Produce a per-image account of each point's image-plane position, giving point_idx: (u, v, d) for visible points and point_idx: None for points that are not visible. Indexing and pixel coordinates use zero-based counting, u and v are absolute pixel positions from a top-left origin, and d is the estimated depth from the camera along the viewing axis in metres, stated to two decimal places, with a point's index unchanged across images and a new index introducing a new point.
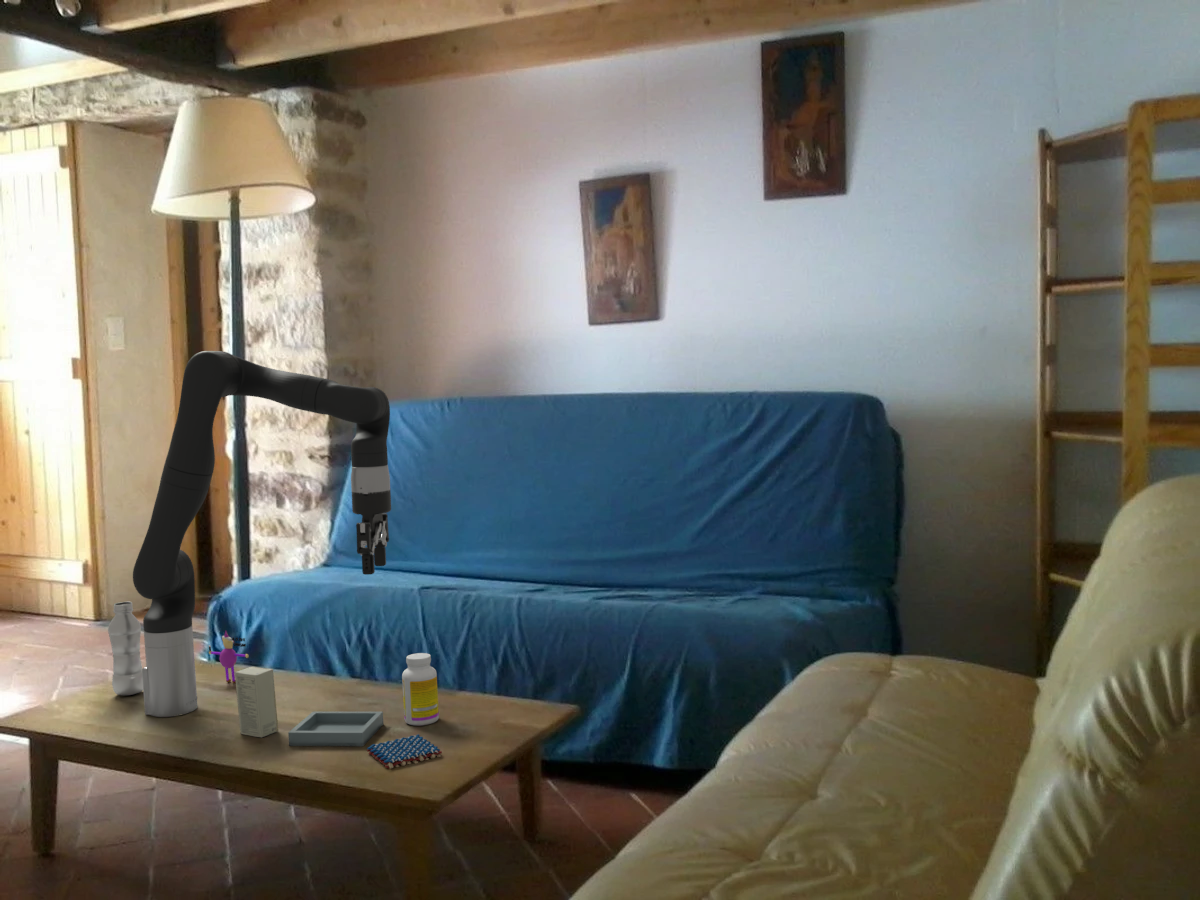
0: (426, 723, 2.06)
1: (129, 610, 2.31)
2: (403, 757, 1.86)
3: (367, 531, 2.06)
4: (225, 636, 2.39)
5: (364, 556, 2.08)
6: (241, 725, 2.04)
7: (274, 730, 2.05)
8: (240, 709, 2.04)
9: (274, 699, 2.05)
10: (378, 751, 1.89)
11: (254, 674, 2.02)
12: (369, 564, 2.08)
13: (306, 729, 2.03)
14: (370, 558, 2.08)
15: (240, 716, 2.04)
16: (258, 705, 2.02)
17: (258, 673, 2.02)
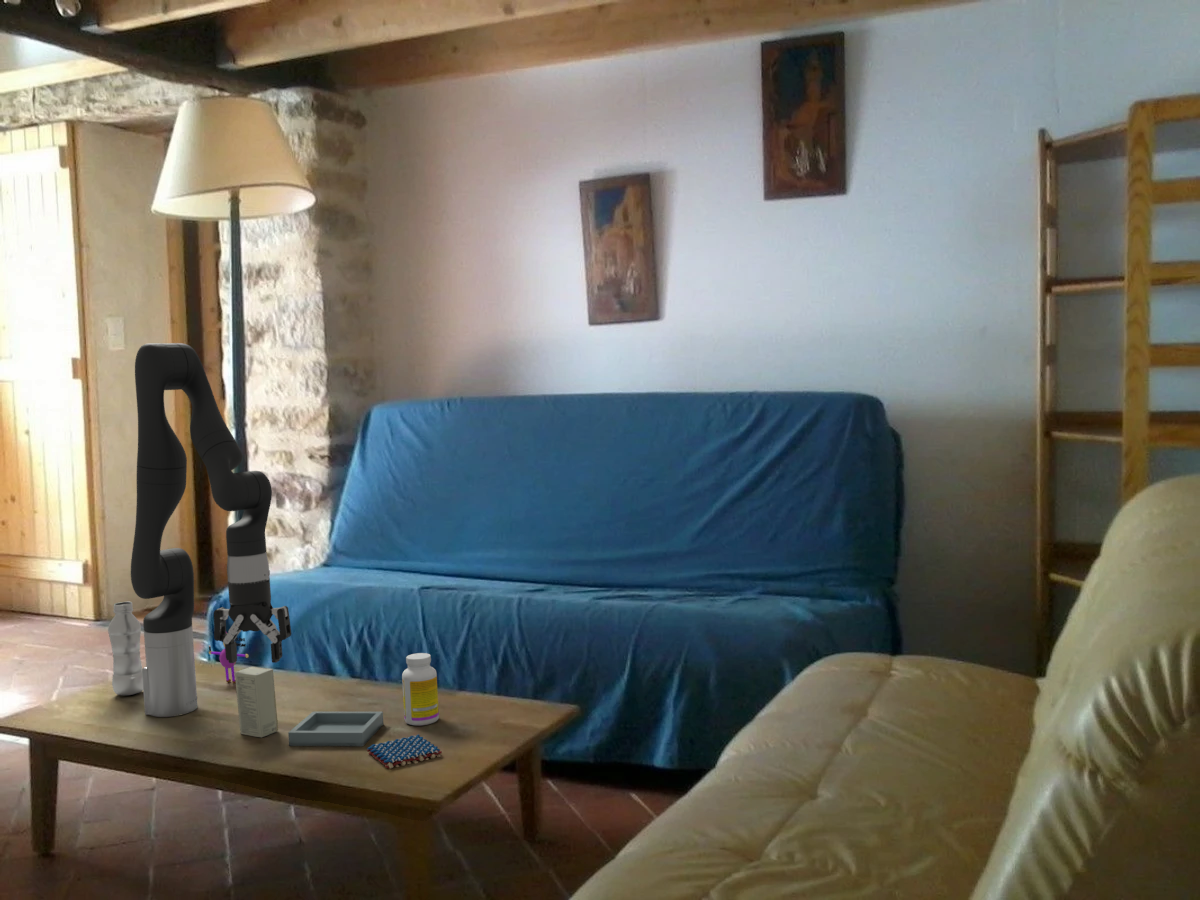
0: (426, 723, 2.06)
1: (129, 610, 2.31)
2: (403, 757, 1.86)
3: (288, 614, 2.04)
4: None
5: (279, 642, 2.03)
6: (241, 725, 2.04)
7: (274, 730, 2.05)
8: (240, 709, 2.04)
9: (274, 699, 2.05)
10: (378, 751, 1.89)
11: (254, 674, 2.02)
12: (281, 649, 2.04)
13: (306, 729, 2.03)
14: None
15: (240, 716, 2.04)
16: (258, 705, 2.02)
17: (258, 673, 2.02)
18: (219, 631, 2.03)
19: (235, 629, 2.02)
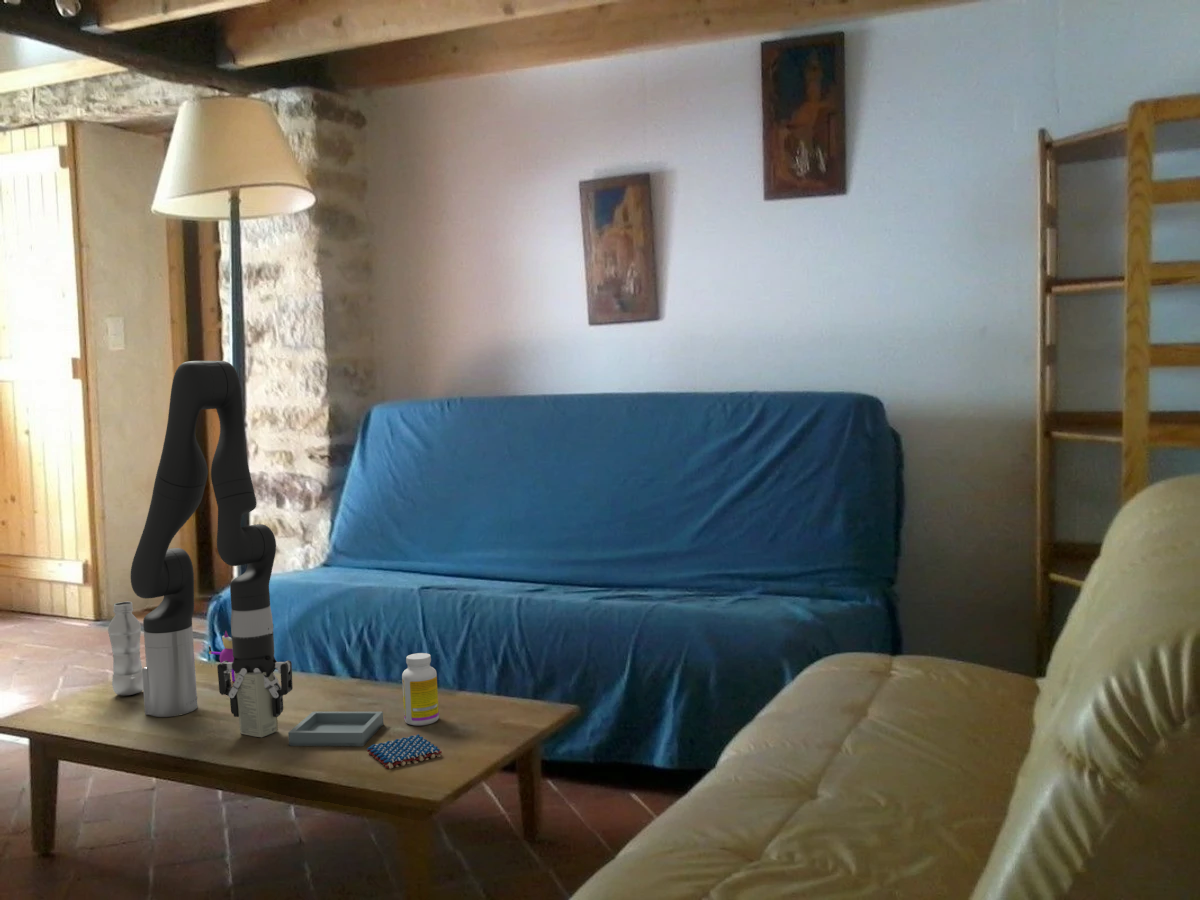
0: (426, 723, 2.06)
1: (129, 610, 2.31)
2: (403, 757, 1.86)
3: (291, 669, 2.04)
4: (225, 636, 2.39)
5: (280, 697, 2.04)
6: (241, 725, 2.04)
7: (274, 730, 2.05)
8: (240, 709, 2.04)
9: None
10: (378, 751, 1.89)
11: (254, 674, 2.02)
12: (282, 704, 2.05)
13: (306, 729, 2.03)
14: None
15: (240, 716, 2.04)
16: (258, 705, 2.02)
17: (258, 673, 2.02)
18: (224, 685, 2.04)
19: (239, 683, 2.03)
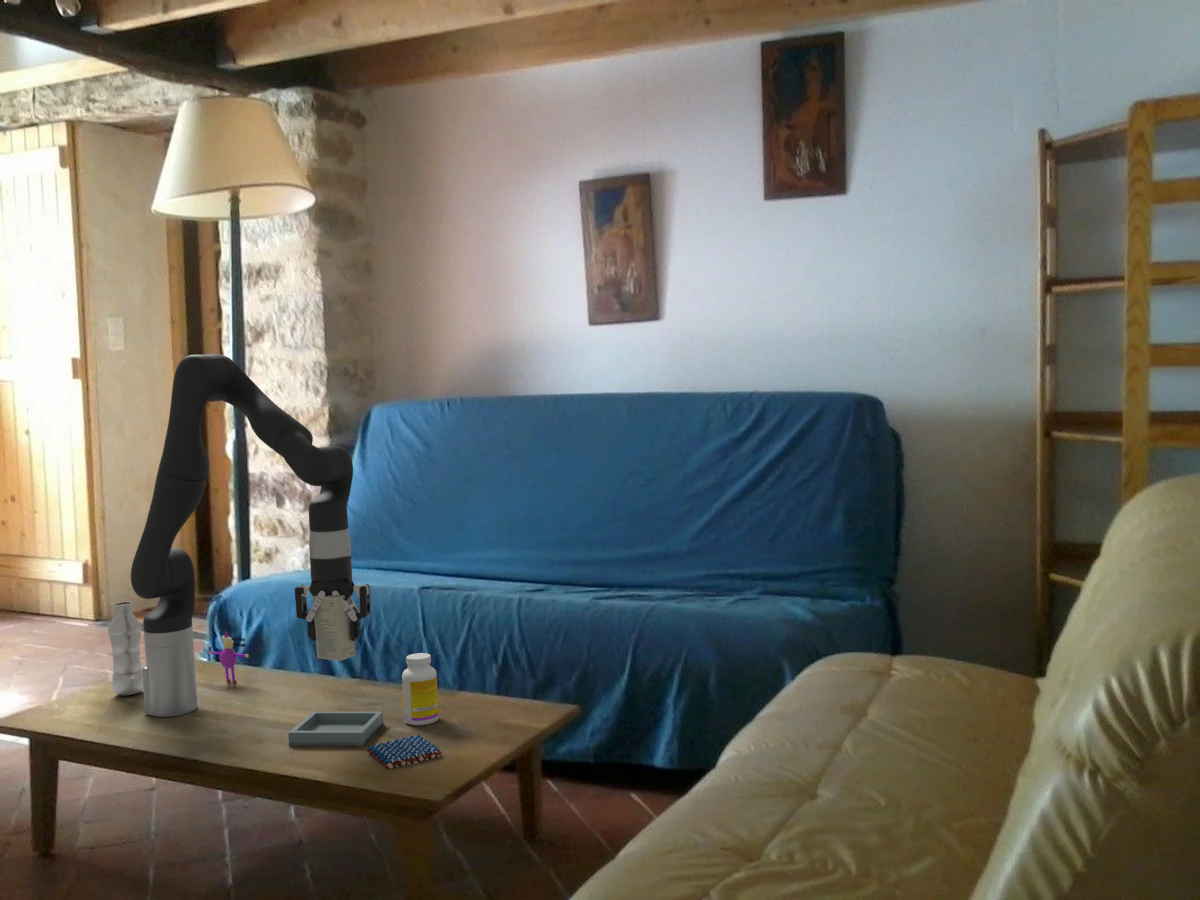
0: (426, 723, 2.06)
1: (129, 610, 2.31)
2: (403, 757, 1.86)
3: (369, 592, 2.02)
4: (225, 636, 2.39)
5: (359, 621, 2.01)
6: (318, 649, 2.02)
7: (352, 654, 2.02)
8: (317, 633, 2.01)
9: None
10: (378, 751, 1.89)
11: (333, 597, 1.99)
12: None
13: (306, 729, 2.03)
14: None
15: (318, 640, 2.02)
16: (337, 628, 1.99)
17: (337, 596, 1.99)
18: (301, 608, 2.01)
19: (317, 606, 2.00)
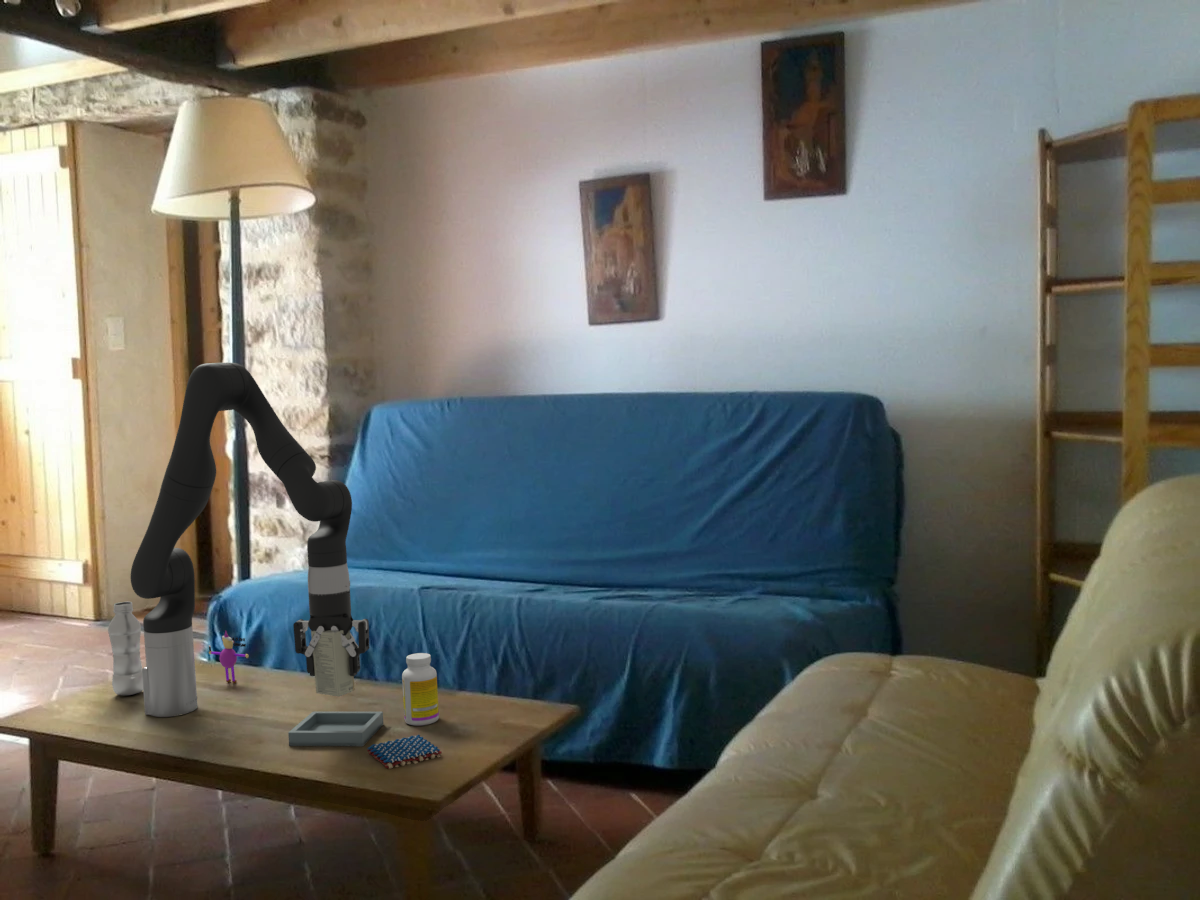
0: (426, 723, 2.06)
1: (129, 610, 2.31)
2: (403, 757, 1.86)
3: (368, 627, 2.01)
4: (225, 636, 2.39)
5: (357, 656, 2.00)
6: (317, 684, 2.01)
7: (351, 689, 2.01)
8: (316, 668, 2.01)
9: None
10: (378, 751, 1.89)
11: (331, 632, 1.98)
12: None
13: (306, 729, 2.03)
14: None
15: (317, 675, 2.01)
16: (336, 664, 1.98)
17: (335, 631, 1.99)
18: (300, 643, 2.01)
19: (316, 641, 2.00)
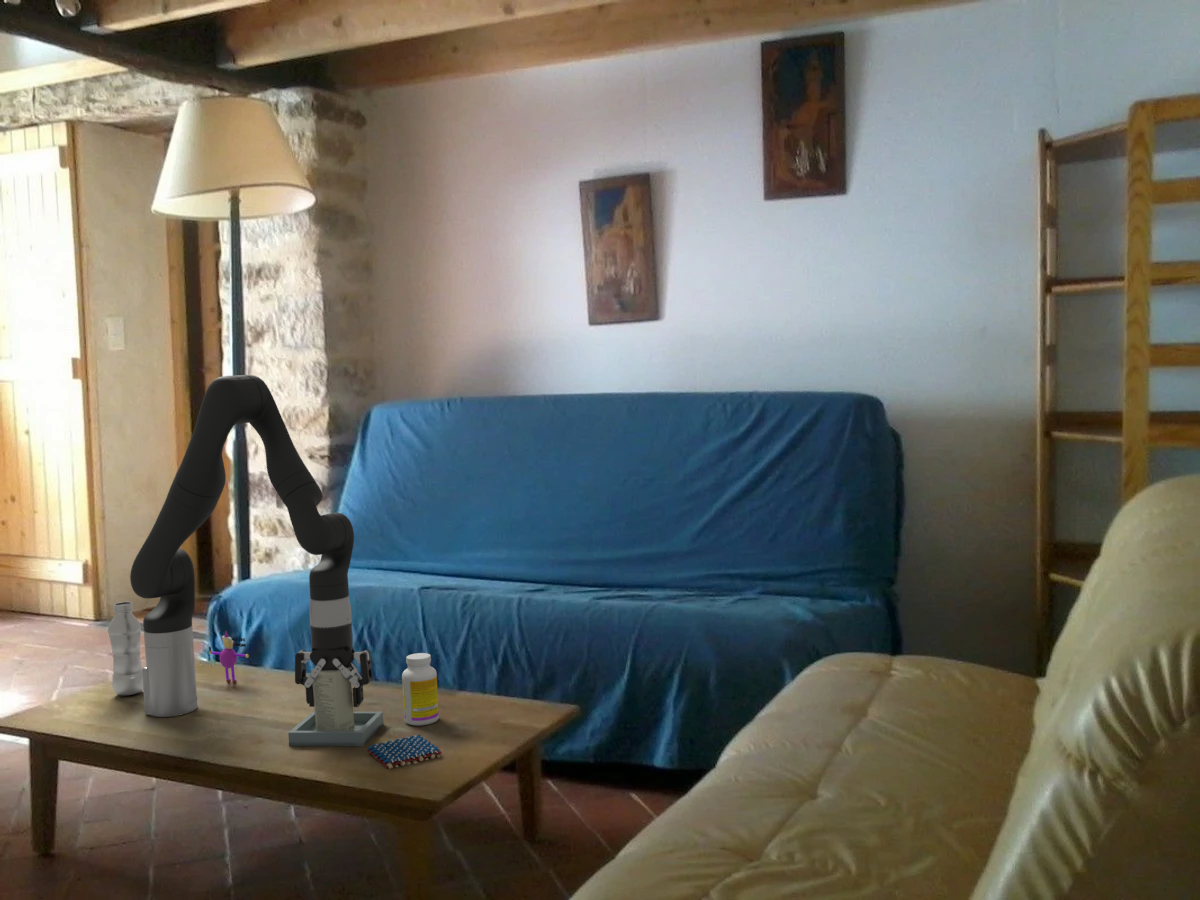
0: (426, 723, 2.06)
1: (129, 610, 2.31)
2: (403, 757, 1.86)
3: (370, 658, 2.01)
4: (225, 636, 2.39)
5: (361, 687, 2.01)
6: (317, 724, 2.02)
7: (351, 729, 2.02)
8: (316, 707, 2.01)
9: (351, 697, 2.02)
10: (378, 751, 1.89)
11: (332, 672, 1.99)
12: None
13: (306, 729, 2.03)
14: None
15: (317, 715, 2.01)
16: (336, 704, 1.99)
17: (336, 671, 1.99)
18: (300, 674, 2.01)
19: (317, 673, 2.00)
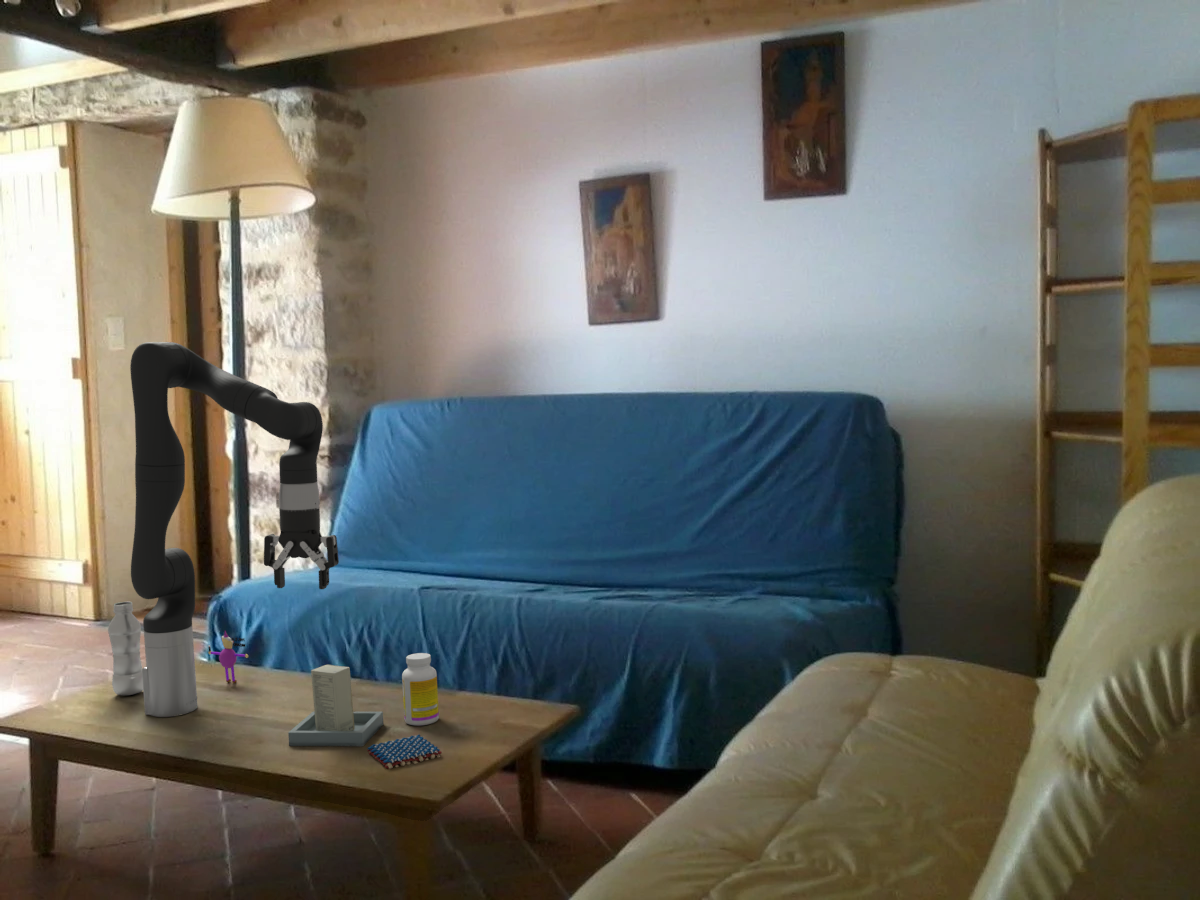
0: (426, 723, 2.06)
1: (129, 610, 2.31)
2: (402, 757, 1.86)
3: (336, 543, 2.09)
4: (225, 636, 2.38)
5: (327, 570, 2.08)
6: (317, 724, 2.02)
7: (351, 729, 2.02)
8: (316, 707, 2.01)
9: (351, 697, 2.02)
10: (378, 751, 1.89)
11: (332, 672, 1.99)
12: None
13: (306, 729, 2.03)
14: None
15: (317, 715, 2.01)
16: (336, 704, 1.99)
17: (335, 671, 1.99)
18: (269, 556, 2.09)
19: (284, 555, 2.08)
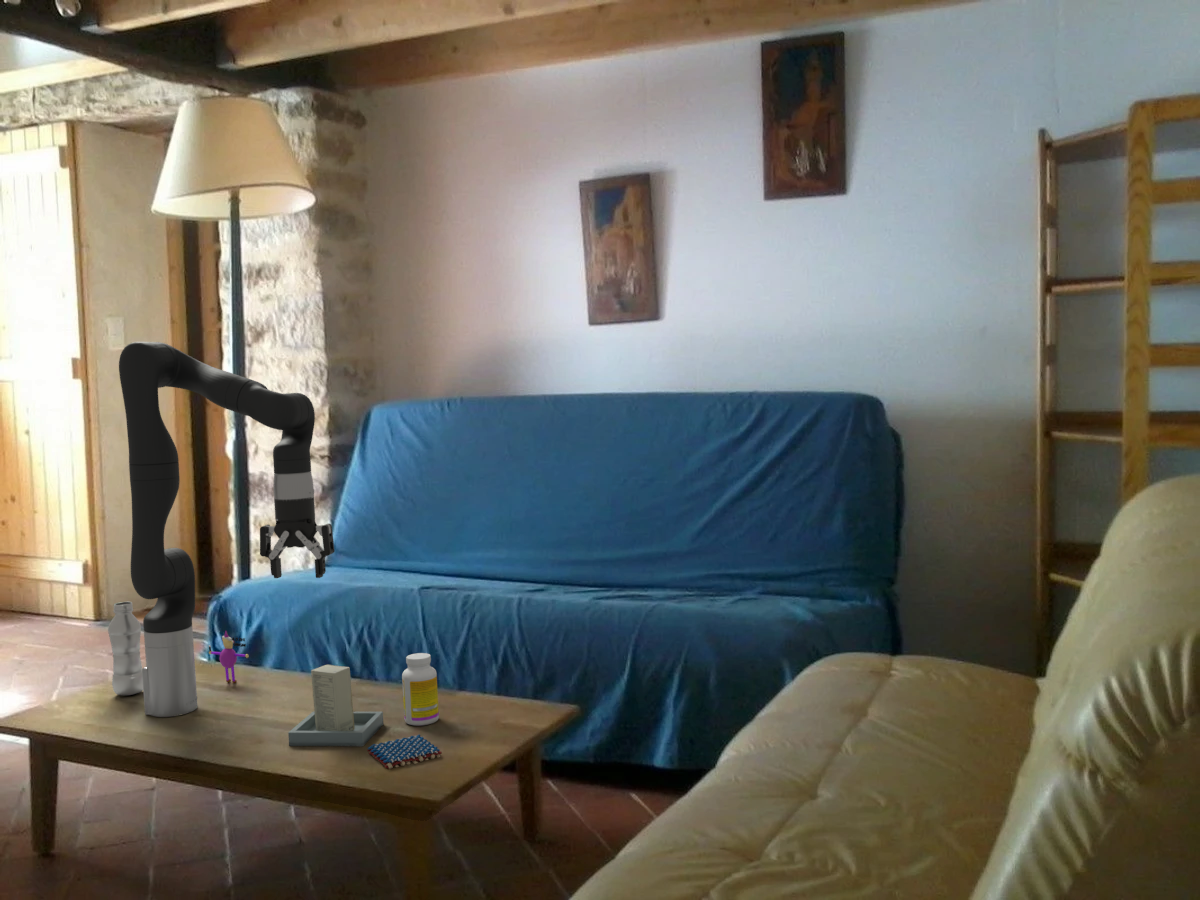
0: (426, 723, 2.06)
1: (129, 610, 2.31)
2: (402, 757, 1.86)
3: (331, 531, 2.11)
4: (225, 636, 2.39)
5: (323, 558, 2.10)
6: (317, 724, 2.02)
7: (351, 729, 2.02)
8: (316, 707, 2.01)
9: (351, 697, 2.02)
10: (378, 751, 1.89)
11: (332, 672, 1.99)
12: None
13: (306, 729, 2.03)
14: None
15: (317, 715, 2.01)
16: (336, 704, 1.99)
17: (335, 671, 1.99)
18: (265, 547, 2.10)
19: (280, 545, 2.09)
